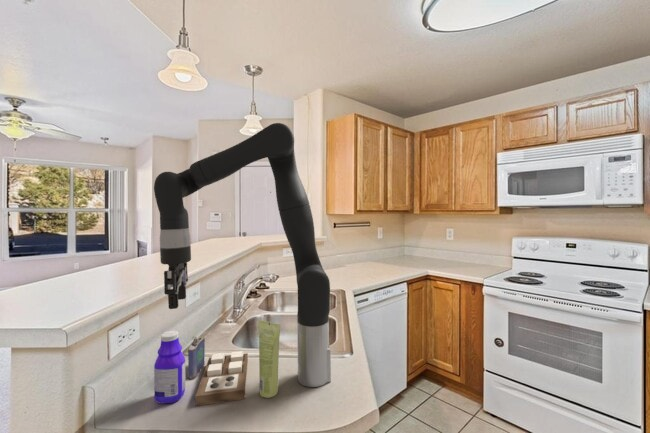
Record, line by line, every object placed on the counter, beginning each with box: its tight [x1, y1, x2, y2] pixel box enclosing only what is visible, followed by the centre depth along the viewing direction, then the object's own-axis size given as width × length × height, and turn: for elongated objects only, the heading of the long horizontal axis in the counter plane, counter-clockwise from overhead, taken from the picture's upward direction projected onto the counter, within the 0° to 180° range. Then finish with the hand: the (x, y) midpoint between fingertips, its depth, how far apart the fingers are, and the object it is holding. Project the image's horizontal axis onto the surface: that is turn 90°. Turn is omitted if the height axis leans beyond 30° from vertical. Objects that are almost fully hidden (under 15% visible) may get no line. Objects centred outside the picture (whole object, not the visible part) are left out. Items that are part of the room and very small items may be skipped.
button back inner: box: [230, 350, 244, 362], centre depth 92 cm, size 4×4×2 cm
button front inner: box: [228, 361, 242, 374], centre depth 86 cm, size 4×4×2 cm
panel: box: [195, 352, 249, 407], centre depth 85 cm, size 12×20×3 cm, turn 13°
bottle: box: [153, 330, 186, 404], centre depth 77 cm, size 7×6×17 cm
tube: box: [257, 319, 281, 399], centre depth 79 cm, size 6×5×20 cm
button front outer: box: [207, 363, 222, 377], centre depth 85 cm, size 4×4×2 cm
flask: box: [187, 336, 206, 380], centre depth 90 cm, size 9×3×11 cm, turn 4°
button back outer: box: [211, 352, 226, 364], centre depth 91 cm, size 4×4×2 cm
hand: (177, 303), depth 80 cm, fingers open, 8 cm apart
